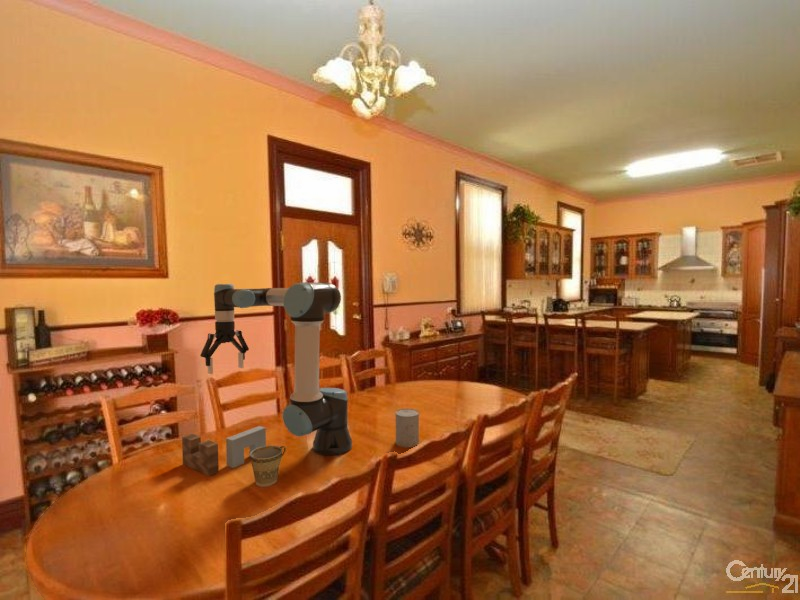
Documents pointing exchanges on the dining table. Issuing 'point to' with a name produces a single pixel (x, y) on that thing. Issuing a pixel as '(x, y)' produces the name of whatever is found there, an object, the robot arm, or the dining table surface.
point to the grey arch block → (244, 445)
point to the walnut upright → (200, 454)
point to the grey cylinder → (407, 427)
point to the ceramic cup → (266, 464)
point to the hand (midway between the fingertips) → (226, 370)
